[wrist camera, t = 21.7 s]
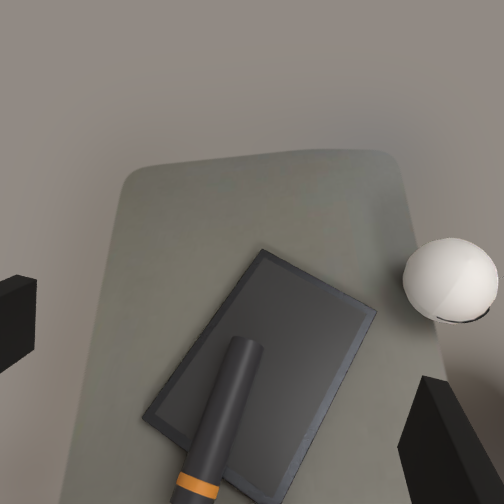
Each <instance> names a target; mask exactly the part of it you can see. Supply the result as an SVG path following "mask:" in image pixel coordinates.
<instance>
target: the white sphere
mask: <svg viewBox="0 0 504 504" xmlns="http://www.w3.org/2000/svg"><path fill="white" fill-rule="evenodd" d="M498 279H499V278H498V274H497V269H496V267H495V265H494V263H493V261H492V260H491V258H490V257H489V256H488V255H487V254H486V253H485V252H484V251H483V250H482V249H481V248H479V247H478V246H476V245H475V244H473V243H471V242H468V241H465V240H463V239H456V238H446V239H440V240H433V241H430V242H428V243H426V244H424V245H422V246H421V247H420V248H419V249H417V250H416V251H415V252H414V253H413V254H412V255H411V257H410V258H409V259H408V262H407V264H406V267H405V270H404V273H403V287H404V290H405V292H406V295H407V297H408V300H409V302H410V303H411V304H412V306H413V307H414V308H415V309H416V310H417V311H418V312H419V313H421V314H422V315H423V316H425V317H427V318H429V319H431V320H434V321H436V322H440V323H446V324H459V323H468V322H473V321H476V320H478V319H480V318H482V317H483V316H485V315H486V314H487V313H488V312H489V308H490V305H491V303H492V302H493V301H494V299H495V298H496V294H497V290H498Z"/></svg>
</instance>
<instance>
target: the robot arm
mask: <svg viewBox="0 0 504 504" xmlns="http://www.w3.org/2000/svg"><path fill="white" fill-rule="evenodd" d="M36 290H37V280H36V279H33V278H29V277H24V276H20V275H15V276H12V277H10V278H7V279H5V280H3V281H0V373H2V372H3V371H4V370H6V369H7V368H9V367H10V366H12V365H13V364H14V363H16V362H17V361H19V360H20V359H21V358H23V357H24V356H26V355H27V354H28V353H30V352H31V351H33V350H34V342H35V317H36ZM397 448H398V452H399V456H400V460H401V464H402V467H403V471H404V475H405V479H406V483H407V487H408V491H409V495H410V498H411V502H412V504H504V485H503V483H502V481H501V479H500V477H499V475H498V474H497V472H496V470H495V468H494V466H493V464H492V462H491V461H490V459H489V457H488V455H487V453H486V451H485V449H484V448H483V446H482V444H481V442H480V440H479V438H478V437H477V435H476V433H475V431H474V429H473V427H472V426H471V424H470V422H469V420H468V418H467V416H466V415H465V413H464V411H463V409H462V407H461V405H460V403H459V402H458V400H457V398H456V396H455V394H454V393H453V391H452V389H451V387H450V385H449V383H448V382H447V381H443V380H439V379H435V378H431V377H427V376H423V375H422V378H421V381H420V384H419V386H418V389H417V392H416V395H415V398H414V401H413V404H412V406H411V409H410V412H409V415H408V418H407V421H406V424H405V426H404V429H403V432H402V435H401V438H400V441H399V443H398V446H397Z"/></svg>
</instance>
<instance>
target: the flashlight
mask: <svg viewBox="0 0 504 504" xmlns="http://www.w3.org/2000/svg"><path fill="white" fill-rule="evenodd" d="M263 352H264V347H263V346H262V345H261V344H259V343H258V342H256V341H254V340H252V339H249V338H246V337H242V336H233V337H232V338H231V341H230V343H229V346H228V349H227V351H226V354H225V357H224V359H223V362H222V365H221V367H220V370H219V373H218V375H217V378H216V381H215V383H214V386H213V389H212V391H211V394H210V396H209V399H208V402H207V404H206V407H205V410H204V412H203V415H202V418H201V420H200V423H199V426H198V428H197V431H196V434H195V436H194V439H193V442H192V444H191V447H190V449H189V452H188V455H187V457H186V460H185V463H184V465H183V468H182V471H181V472H180V474H179V477H178V479H177V482H176V487H175V489H174V492H173V495H172V497H171V500H170V502H171V503H172V504H213V503H214V500H215V499H216V496H217V493H218V490H219V485H220V482H221V479H222V476H223V473H224V470H225V467H226V464H227V461H228V458H229V455H230V452H231V449H232V446H233V443H234V440H235V437H236V434H237V430H238V427H239V424H240V421H241V418H242V415H243V412H244V409H245V406H246V403H247V400H248V397H249V394H250V391H251V388H252V385H253V382H254V379H255V376H256V373H257V370H258V367H259V364H260V361H261V358H262V355H263Z"/></svg>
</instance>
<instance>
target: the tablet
mask: <svg viewBox="0 0 504 504" xmlns="http://www.w3.org/2000/svg"><path fill="white" fill-rule="evenodd" d="M376 313H377V311H376V310H374V309H372V308H371V307H369V306H367V305H365V304H363V303H361V302H360V301H358V300H356V299H354V298H352V297H350V296H349V295H347V294H345V293H343V292H341V291H339V290H337V289H336V288H334V287H332V286H330V285H328V284H326V283H325V282H323V281H321V280H319V279H317V278H315V277H314V276H312V275H310V274H308V273H306V272H304V271H302V270H301V269H299V268H297V267H295V266H293V265H291V264H290V263H288V262H286V261H284V260H282V259H280V258H279V257H277V256H275V255H273V254H271V253H269V252H267V251H266V250H264V249H262V250H261V251H260V252H259V254H258V255H257V257H256V258H255V259H254V261H253V262H252V264H251V265H250V266H249V268H248V269H247V271H246V272H245V274H244V275H243V276H242V278H241V279H240V281H239V282H238V283H237V285H236V286H235V288H234V289H233V290H232V292H231V293H230V295H229V296H228V297H227V299H226V300H225V302H224V303H223V304H222V306H221V307H220V309H219V310H218V311H217V313H216V314H215V316H214V317H213V318H212V320H211V321H210V323H209V324H208V325H207V327H206V328H205V330H204V331H203V332H202V334H201V335H200V337H199V338H198V339H197V341H196V342H195V344H194V345H193V346H192V348H191V349H190V351H189V352H188V353H187V355H186V356H185V358H184V359H183V360H182V362H181V363H180V365H179V366H178V367H177V369H176V370H175V372H174V373H173V374H172V376H171V377H170V379H169V380H168V381H167V383H166V384H165V386H164V387H163V388H162V390H161V391H160V393H159V394H158V396H157V397H156V398H155V400H154V401H153V403H152V404H151V405H150V407H149V408H148V410H147V411H146V412H145V414H144V415H143V417H142V419H143V420H145V421H146V422H147V423H149V424H150V425H151V426H153V427H154V428H155V429H157V430H158V431H160V432H161V433H162V434H164V435H165V436H166V437H168V438H169V439H170V440H172V441H173V442H174V443H176V444H177V445H179V446H180V447H181V448H183V449H184V450H185V451H187V452H189V449H190V447H191V444H192V442H193V439H194V436H195V434H196V431H197V428H198V426H199V423H200V420H201V418H202V415H203V412H204V410H205V407H206V404H207V402H208V399H209V396H210V394H211V391H212V389H213V386H214V383H215V381H216V378H217V375H218V373H219V370H220V367H221V365H222V362H223V359H224V357H225V354H226V351H227V349H228V346H229V343H230V341H231V338H232V337H233V336H242V337H246V338H249V339H252V340H254V341H256V342H258V343H259V344H261V345H262V346H263V347H264V352H263V355H262V358H261V361H260V364H259V367H258V370H257V373H256V376H255V379H254V382H253V385H252V388H251V391H250V394H249V397H248V400H247V403H246V406H245V409H244V412H243V415H242V418H241V421H240V424H239V427H238V430H237V434H236V437H235V440H234V443H233V446H232V449H231V452H230V455H229V458H228V461H227V464H226V467H225V470H224V473H223V476H222V478H223V479H225V480H226V481H228V482H229V483H230V484H232V485H233V486H234V487H236V488H237V489H238V490H240V491H241V492H243V493H244V494H245V495H247V496H248V497H249V498H251V499H252V500H253V501H255V502H256V503H257V504H281V503H282V501H283V499H284V497H285V495H286V493H287V491H288V489H289V487H290V485H291V483H292V481H293V479H294V477H295V475H296V473H297V471H298V469H299V467H300V465H301V463H302V461H303V459H304V457H305V455H306V453H307V451H308V449H309V447H310V445H311V443H312V441H313V439H314V437H315V435H316V433H317V431H318V429H319V427H320V425H321V423H322V421H323V419H324V417H325V415H326V413H327V411H328V409H329V407H330V405H331V403H332V401H333V399H334V397H335V395H336V393H337V391H338V389H339V387H340V385H341V383H342V381H343V379H344V377H345V375H346V373H347V371H348V369H349V367H350V365H351V363H352V361H353V359H354V357H355V355H356V353H357V351H358V349H359V347H360V345H361V343H362V341H363V339H364V337H365V335H366V333H367V331H368V329H369V327H370V325H371V323H372V321H373V319H374V317H375V315H376Z"/></svg>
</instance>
